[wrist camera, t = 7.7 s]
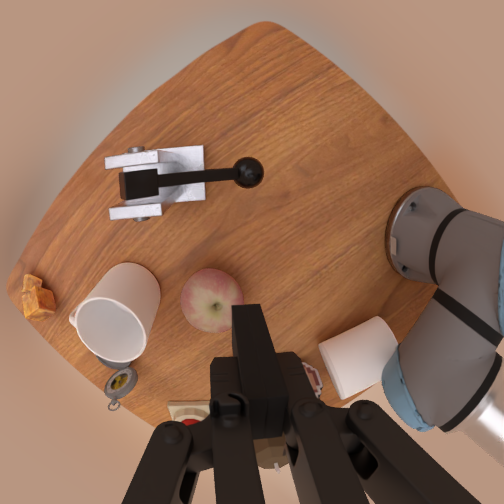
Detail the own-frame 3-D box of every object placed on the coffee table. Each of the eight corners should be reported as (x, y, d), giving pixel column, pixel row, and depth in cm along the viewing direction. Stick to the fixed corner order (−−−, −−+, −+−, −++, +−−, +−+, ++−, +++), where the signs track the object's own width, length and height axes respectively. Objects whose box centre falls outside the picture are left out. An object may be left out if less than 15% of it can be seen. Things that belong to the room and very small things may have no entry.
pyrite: (36, 284, 35) (50, 274, 35) (42, 322, 33) (57, 313, 33) (15, 277, 31) (29, 265, 31) (20, 318, 28) (35, 308, 29)
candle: (272, 427, 49) (287, 486, 35) (222, 404, 45) (228, 473, 31) (324, 392, 47) (351, 452, 33) (277, 362, 43) (300, 434, 29)
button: (201, 417, 43) (201, 425, 41) (204, 429, 44) (204, 436, 42) (179, 418, 42) (179, 425, 41) (183, 430, 44) (183, 436, 42)
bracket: (203, 145, 32) (195, 135, 19) (206, 198, 34) (199, 223, 21) (124, 153, 31) (73, 153, 18) (128, 205, 33) (81, 233, 20)
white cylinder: (342, 396, 32) (408, 361, 32) (315, 335, 39) (377, 305, 38) (341, 404, 42) (392, 378, 41) (320, 357, 48) (369, 334, 48)
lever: (250, 156, 29) (270, 156, 26) (251, 186, 30) (271, 188, 27) (117, 167, 21) (124, 165, 18) (120, 204, 22) (127, 207, 19)
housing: (211, 400, 45) (211, 412, 42) (215, 424, 47) (216, 436, 44) (167, 401, 44) (166, 413, 41) (176, 425, 46) (175, 436, 44)
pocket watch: (101, 327, 38) (78, 368, 28) (148, 351, 40) (136, 397, 30) (90, 359, 39) (71, 399, 30) (133, 381, 42) (121, 424, 32)
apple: (250, 295, 39) (259, 327, 31) (203, 319, 39) (202, 354, 32) (222, 248, 36) (224, 272, 29) (172, 275, 36) (163, 304, 29)
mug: (78, 266, 34) (42, 301, 24) (155, 256, 35) (134, 294, 25) (95, 318, 37) (69, 361, 27) (167, 313, 38) (155, 362, 28)
